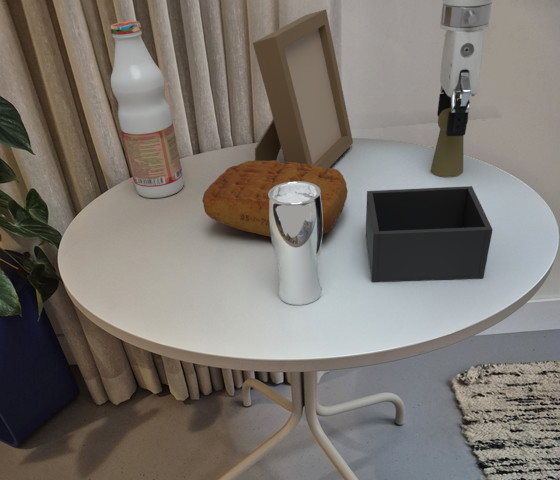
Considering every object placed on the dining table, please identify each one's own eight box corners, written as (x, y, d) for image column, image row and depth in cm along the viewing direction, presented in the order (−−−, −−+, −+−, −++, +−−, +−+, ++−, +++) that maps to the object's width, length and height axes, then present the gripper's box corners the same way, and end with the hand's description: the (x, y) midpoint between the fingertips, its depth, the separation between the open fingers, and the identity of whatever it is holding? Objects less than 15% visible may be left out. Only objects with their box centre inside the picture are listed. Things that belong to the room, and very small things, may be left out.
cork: (423, 171, 109) (429, 111, 102) (442, 161, 112) (449, 102, 105) (450, 179, 106) (458, 117, 98) (469, 169, 108) (478, 108, 101)
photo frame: (353, 147, 121) (354, 9, 104) (312, 190, 106) (307, 37, 90) (289, 141, 126) (281, 8, 110) (242, 181, 112) (225, 35, 95)
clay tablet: (199, 238, 95) (191, 192, 90) (240, 195, 107) (234, 151, 102) (326, 254, 89) (325, 205, 83) (355, 205, 100) (356, 160, 95)
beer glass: (318, 276, 84) (315, 177, 74) (329, 302, 79) (328, 199, 69) (271, 283, 83) (262, 184, 74) (280, 310, 78) (271, 207, 68)
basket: (464, 232, 91) (472, 185, 86) (483, 278, 81) (492, 229, 76) (365, 236, 92) (366, 190, 87) (371, 282, 82) (373, 234, 77)
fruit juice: (149, 204, 107) (109, 33, 88) (128, 188, 113) (87, 25, 94) (193, 189, 111) (163, 21, 92) (171, 174, 117) (139, 15, 98)
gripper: (502, 26, 85) (481, 142, 97) (478, 4, 98) (462, 108, 110) (450, 29, 86) (436, 144, 97) (433, 6, 99) (422, 110, 110)
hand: (450, 125), depth 104 cm, fingers open, 9 cm apart
